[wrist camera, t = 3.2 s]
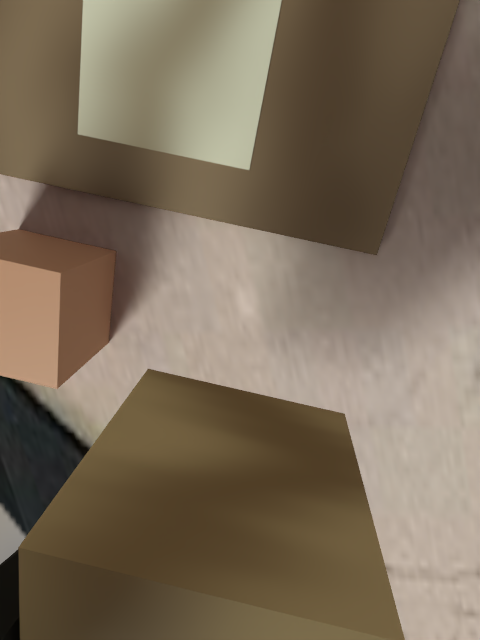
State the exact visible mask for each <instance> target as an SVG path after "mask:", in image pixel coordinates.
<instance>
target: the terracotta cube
mask: <svg viewBox="0 0 480 640" xmlns="http://www.w3.org/2000/svg"><path fill="white" fill-rule="evenodd" d="M115 260H116V251H114V250H109V249H105V248H100V247H96V246H91V245H87V244H82V243H78V242H73V241H69V240H64V239H60V238H55V237H51V236H46V235H42V234H37V233H33V232H28V231H24V230H19V229H18V230H12V231H6V232H0V375H1V376H5V377H9V378H13V379H17V380H22V381H26V382H30V383H34V384H38V385H43V386H47V387H51V388H55V389H58V388H59V387H60V386H61V385H62V384H63V383H64V382H65V381H67V380H68V379H69V378H70V377H71V376H72V375H73V374H74V373H75V372H77V371H78V370H79V369H80V368H81V367H82V366H83V365H84V364H85V363H87V362H88V361H89V360H90V359H91V358H92V357H93V356H94V355H95V354H97V353H98V352H99V351H100V350H101V349H102V348H103V347H104V346H105V345H107V344H108V343H109V332H110V320H111V308H112V296H113V284H114V272H115Z"/></svg>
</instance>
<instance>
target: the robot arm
mask: <svg viewBox="0 0 480 640" xmlns="http://www.w3.org/2000/svg"><path fill="white" fill-rule="evenodd" d="M0 640H20V613H19V550H17V551H16V552H15V553H13V554H12V555H11V556H10V557H9V558H8V559H6V560H5V561H4V562H3V563H2V564H1V565H0Z"/></svg>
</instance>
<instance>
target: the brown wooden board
mask: <svg viewBox="0 0 480 640" xmlns="http://www.w3.org/2000/svg"><path fill="white" fill-rule="evenodd" d="M459 1H460V0H0V174H2V175H7V176H11V177H16V178H21V179H25V180H30V181H35V182H39V183H44V184H49V185H53V186H58V187H63V188H67V189H72V190H76V191H81V192H86V193H90V194H95V195H100V196H104V197H109V198H114V199H118V200H123V201H127V202H132V203H137V204H141V205H146V206H151V207H155V208H160V209H165V210H169V211H174V212H178V213H183V214H188V215H192V216H197V217H202V218H206V219H211V220H216V221H220V222H225V223H229V224H234V225H239V226H243V227H248V228H253V229H257V230H262V231H267V232H271V233H276V234H280V235H285V236H290V237H294V238H299V239H304V240H308V241H313V242H318V243H322V244H327V245H332V246H336V247H341V248H345V249H350V250H355V251H359V252H364V253H369V254H373V255H377V253H378V250H379V246H380V243H381V240H382V237H383V234H384V231H385V228H386V225H387V222H388V219H389V216H390V213H391V210H392V207H393V204H394V200H395V197H396V194H397V191H398V188H399V185H400V182H401V179H402V176H403V173H404V170H405V167H406V164H407V161H408V158H409V155H410V151H411V148H412V145H413V142H414V139H415V136H416V133H417V130H418V127H419V124H420V121H421V118H422V115H423V112H424V109H425V105H426V102H427V99H428V96H429V93H430V90H431V87H432V84H433V81H434V78H435V75H436V72H437V69H438V66H439V63H440V60H441V56H442V53H443V50H444V47H445V44H446V41H447V38H448V35H449V32H450V29H451V26H452V23H453V20H454V17H455V14H456V10H457V7H458V4H459Z"/></svg>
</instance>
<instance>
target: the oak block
mask: <svg viewBox="0 0 480 640" xmlns="http://www.w3.org/2000/svg"><path fill="white" fill-rule="evenodd" d="M18 550H19V613H20V640H405V639H404V635H403V631H402V628H401V624H400V620H399V616H398V613H397V609H396V605H395V601H394V598H393V594H392V590H391V586H390V583H389V579H388V575H387V571H386V568H385V564H384V560H383V556H382V553H381V549H380V545H379V541H378V538H377V534H376V530H375V526H374V523H373V519H372V515H371V511H370V508H369V504H368V500H367V496H366V493H365V489H364V485H363V481H362V478H361V474H360V470H359V466H358V462H357V459H356V455H355V451H354V447H353V444H352V440H351V436H350V432H349V429H348V425H347V421H346V417H345V414H343V413H338V412H334V411H330V410H325V409H321V408H317V407H312V406H308V405H304V404H299V403H295V402H290V401H286V400H282V399H277V398H273V397H269V396H264V395H260V394H256V393H251V392H247V391H242V390H238V389H234V388H229V387H225V386H221V385H216V384H212V383H208V382H203V381H199V380H194V379H190V378H186V377H181V376H177V375H173V374H168V373H164V372H160V371H155V370H151V369H148V370H147V371H146V373H145V374H144V375H143V377H142V378H141V379H140V381H139V382H138V384H137V385H136V386H135V388H134V389H133V390H132V392H131V393H130V395H129V396H128V397H127V399H126V400H125V401H124V403H123V404H122V406H121V407H120V408H119V410H118V411H117V412H116V414H115V415H114V417H113V418H112V419H111V421H110V422H109V423H108V425H107V426H106V428H105V429H104V430H103V432H102V433H101V435H100V436H99V437H98V439H97V440H96V441H95V443H94V444H93V446H92V447H91V448H90V450H89V451H88V452H87V454H86V455H85V457H84V458H83V459H82V461H81V462H80V463H79V465H78V466H77V468H76V469H75V470H74V472H73V473H72V474H71V476H70V477H69V479H68V480H67V481H66V483H65V484H64V485H63V487H62V488H61V490H60V491H59V492H58V494H57V495H56V497H55V498H54V499H53V501H52V502H51V503H50V505H49V506H48V508H47V509H46V510H45V512H44V513H43V514H42V516H41V517H40V519H39V520H38V521H37V523H36V524H35V525H34V527H33V528H32V530H31V531H30V532H29V534H28V535H27V536H26V538H25V539H24V541H23V542H22V543H21V545H20V546H19V548H18Z"/></svg>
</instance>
